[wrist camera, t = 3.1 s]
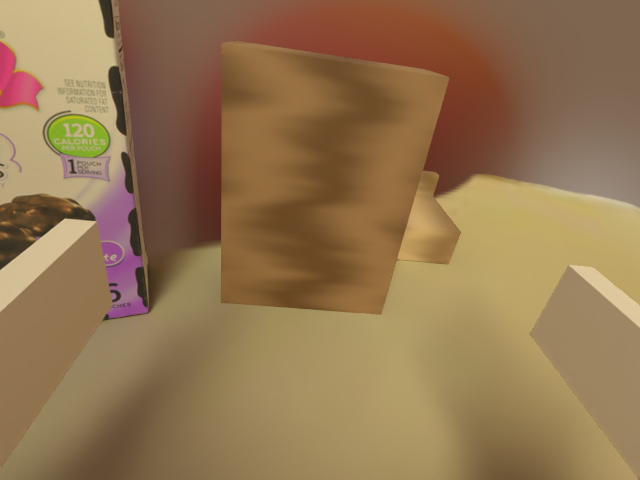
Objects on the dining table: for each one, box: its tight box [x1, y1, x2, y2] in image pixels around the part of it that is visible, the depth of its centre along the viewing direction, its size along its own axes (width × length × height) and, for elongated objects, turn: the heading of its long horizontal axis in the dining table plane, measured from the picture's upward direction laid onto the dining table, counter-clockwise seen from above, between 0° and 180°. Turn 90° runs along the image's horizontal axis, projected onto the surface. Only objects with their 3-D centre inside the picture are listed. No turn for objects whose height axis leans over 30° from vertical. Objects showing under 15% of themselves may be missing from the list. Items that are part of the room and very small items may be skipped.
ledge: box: [397, 171, 461, 264], centre depth 31 cm, size 14×8×5 cm, turn 93°
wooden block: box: [221, 41, 449, 315], centre depth 21 cm, size 10×4×14 cm, turn 93°
